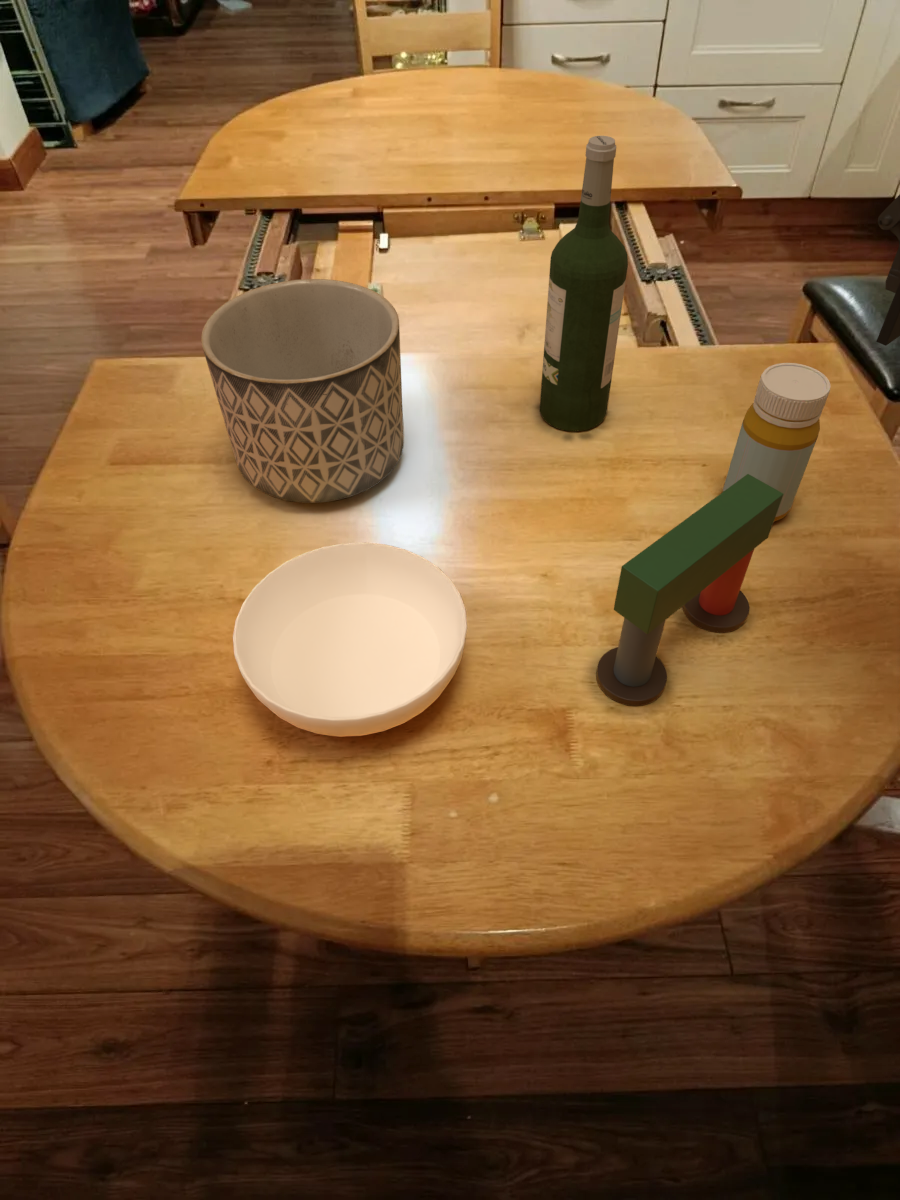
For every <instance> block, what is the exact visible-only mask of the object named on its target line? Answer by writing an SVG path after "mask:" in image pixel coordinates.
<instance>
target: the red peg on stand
mask: <svg viewBox="0 0 900 1200" xmlns="http://www.w3.org/2000/svg"><path fill="white" fill-rule="evenodd" d="M754 551H755V549H753V550H752V551H751V552H750V553H748V554H747V555H746V556H745V557H743V558H742V559H741V560H740V561H738V562H737V563H736V564H735V565H733V566H732V567H731V568H730V569H728V570H727V571H726V572H725V573H723V574H722V575H721V576H720V577H718V578H717V579H716V580H715V581H713V582H712V583H711V584H710V585H708V586H707V587H706V588H705V589H703V590H702V591H701V592H700V593H698V594H697V595H696V596H695V597H693V598H692V599H691V600H690V601H688V602H687V603H686V604H685V605H684V606H682V607H681V609H682V611H683V613H684V615H685V617H686V618H687V620H688V621H690V622H691V623H692V624H693V625H695V626H696V627H698V628H700V629H701V630H704V631H707V632H711V633H715V634H717V633H718V634H725V633H730V632H734V631H736V630H738V629H740V628H741V627H742V626H744V625H745V623H746V621H747V620H748V617H749V614H750V603H749V600H748V598H747V596H746V595H745V594H744V592H743V591H742V590H741V588H742V585H743V582H744V579H745V577H746V574H747V571H748V568H749V566H750V563H751V560H752V557H753V554H754Z"/></svg>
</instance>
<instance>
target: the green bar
mask: <svg viewBox="0 0 900 1200" xmlns="http://www.w3.org/2000/svg"><path fill="white" fill-rule="evenodd" d="M782 497H783V493H782V492H780V491H778V490H776V489H774V488H773V487H771V486H769V485H767V484H765V483H764V482H762V481H760V480H758V479H757V478H755V477H753V476H751V475H749V474H747V475H745V476H744V477H743V478H741V479H740V480H739V481H737V482H736V483H735V484H733V485H732V486H730V487H729V488H728V489H726V490H725V491H724V492H723V491H722V492H721V493H720V494H718V495H717V496H716V497H714V498H713V499H711V500H710V501H708V502H707V503H706V504H704V505H703V506H702V507H700V508H699V509H698V510H696V511H695V512H694V513H692V514H691V515H689V516H688V517H687V518H685V519H684V520H683V521H681V522H680V523H678V524H677V525H676V526H675V527H673V528H672V529H670V530H669V531H668V532H666V533H665V534H664V535H662V536H661V537H659V538H658V539H657V540H655V541H654V542H653V543H652V544H650V545H648V546H647V547H646V548H645V549H643V550H642V551H640V552H639V553H637V554H636V555H635V556H633V558H631V559H629V560H628V561H626V563H624V564H623V565H621V569H620V573H619V578H618V584H617V589H616V594H615V600H614V604H613V611H614V612H616V613H617V614H618V615H620V616H621V617H623V619H624V618H625V619H627V620H628V621H630V622H631V623H632V624H634V625H635V626H636V627H638V628H639V629H641V630H642V631H643V632H645V633H646V634H649V633H650V632H651V631H652V630H654V629H655V628H656V627H657V626H659V625H660V624H661V623H662V622H664V621H665V622H666V621H667V620H668V619H669V618H670V617H671V616H672V615H673V614H675V613H677V611H679V610H680V609H682V606H684V605H685V604H686V603H687V602H688V601H690V600H691V599H692V598H693V597H695V596H696V595H697V594H698V593H700V592H701V591H702V590H703V589H705V588H706V587H707V586H708V585H710V584H711V583H712V582H713V581H715V580H716V579H717V578H718V577H720V576H721V575H722V574H723V573H725V572H726V571H727V570H728V569H730V568H731V567H732V566H733V565H735V564H736V563H737V562H738V561H740V560H741V559H742V558H743V557H745V556H746V555H747V554H748V553H750V552H751V551H752V550H753V549H754V550H755V549H756V548H757V547H758V546H760V545H761V544H762V543H763V542H765V541H766V540H767V539H768V538H769V536H770V533H771V530H772V527H773V525H774V522H775V521H774V519H775V516H776V514H777V511H778V508H779V505H780V503H781V500H782Z"/></svg>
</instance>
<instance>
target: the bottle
mask: <svg viewBox="0 0 900 1200" xmlns="http://www.w3.org/2000/svg"><path fill="white" fill-rule="evenodd" d="M830 392H831V381H830V380H829V378H828V377H827V376H826V375H825V374H824V373H823V372H821V371H819V369H816V368H814V367H812V366H809V365H805V364H802V363H797V362H779V363H775V364H772V365H770V366H767V368H765V369H764V370H763V372H762V373H761V375H760V378H759V382H758V385H757V388H756V392H755V395H754V399H753V403H752V404H751V405H750V406H749V407H748V409H747V410H746V412H745V413H744V416H743V419H742V423H741V426H740V429H739V432H738V436H737V439H736V443H735V446H734V450H733V454H732V456H731V460H730V464H729V466H728V467H729V468H728V472H727V475H726V477H725V480H724V484H723V487H722V492H724V491H725V490H726V489H728V488H729V487H730V486H732V485H733V484H735V483H736V482H737V481H739V480H740V479H741V478H743V477H744V476H745V475H747V474H749V475H751V476H753V477H755V478H757V479H758V480H760V481H762V482H764V483H765V484H767V485H769V486H771V487H773V488H774V489H776V490H778V491H780V492H782V493H783V497H782V500H781V503H780V505H779V508H778V511H777V514H776V516H775V519H774V522H777V521H779V520H782V519H783V518H785V517H787V515H788V514H789V513H790V511H791V508H792V507H793V504H794V501H795V498H796V497H797V493H798V490H799V488H800V485H801V482H802V480H803V477H804V474H805V473H806V469H807V467H808V464H809V461H810V459H811V456H812V453H813V451H814V448H815V446H816V443H817V440H818V437H819V434H820V432H821V421H820V418H821V416H822V413H823V410H824V409H825V405H826V403H827V400H828V398H829V394H830Z"/></svg>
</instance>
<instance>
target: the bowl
mask: <svg viewBox="0 0 900 1200" xmlns="http://www.w3.org/2000/svg"><path fill="white" fill-rule="evenodd" d="M467 617H468V616H467V609H466V607H465V603H464V600H463V598H462V595H461V592H460V591H459V589H458V588H457V587H456V585H455V583H454V582H453V580H452V579H451V578H450V577H449V576H448V575H447V574H446V573H445V572H444V571H443V570H442V569H441V568H440V567H439V566H437V565H435V564H434V563H433V562H431V561H429V560H428V559H427V558H425V557H423V556H421V555H419V554H417V553H415V552H413V551H410V550H408V549H406V548H401V547H397V546H394V545H390V544H387V543H386V544H385V543H377V542H375V543H374V542H367V541H365V542H364V541H362V542H343V543H337V544H333V545H325V546H322V547H318V548H316V549H312V550H308V551H306V552H303V553H301V554H299V555H296V556H294V557H292V558H291V559H289V560H287V561H284V562H283V563H282V564H279V566H277V567H275V568H274V569H273V570H271V571H270V572H269V573H267V574H266V575H265V576H264V577H263V578H262V579H261V580H260V581H259V582H258V583H257V584H256V585H254V587H253V588H252V589H251V591H250V592H249V594H248V595H247V597H246V598H245V600H244V601H243V602H242V604H241V607H240V609H239V611H238V613H237V616H236V618H235V622H234V627H233V628H234V629H233V633H232V647H233V656H234V660H235V662H236V664H237V667H238V669H239V673H240V674H241V676H242V678H243V679H244V682H245V683H246V685H247V686H248V688H249V689H250V690H251V692H252V694H253V695H254V696H255V697H256V699H257V700H258V701H259V702H260V703H261V704H263V705H264V706H265V707H266V708H267V709H268V710H270V711H271V712H272V713H273V714H274V715H276V716H277V717H278V718H280V719H281V720H283V721H285V722H286V723H289V724H290V725H292V726H294V727H296V728H298V729H301V730H304V731H308V732H311V733H314V734H317V735H323V736H330V737H342V738H343V737H362V736H367V735H371V734H376V733H380V732H381V733H382V732H385V731H387V730H390V729H392V728H395V727H398V726H400V725H402V724H405V723H406V722H407V723H408V721H410V720H412V719H413V718H415V717H416V716H418V715H420V714H422V713H423V712H424V711H425V710H426V709H428V708H429V707H430V706H431V705H432V704H433V703H434V702H435V701H436V700H438V698H439V697H440V696H441V694H442V693H443V692H444V691H445V689H446V688H447V687H448V686H449V684H450V682H451V680H452V679H453V678H454V676H455V674H456V671H457V669H458V667H459V666H460V663H461V661H462V658H463V653H464V648H465V644H466V638H467V633H468V618H467Z"/></svg>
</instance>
